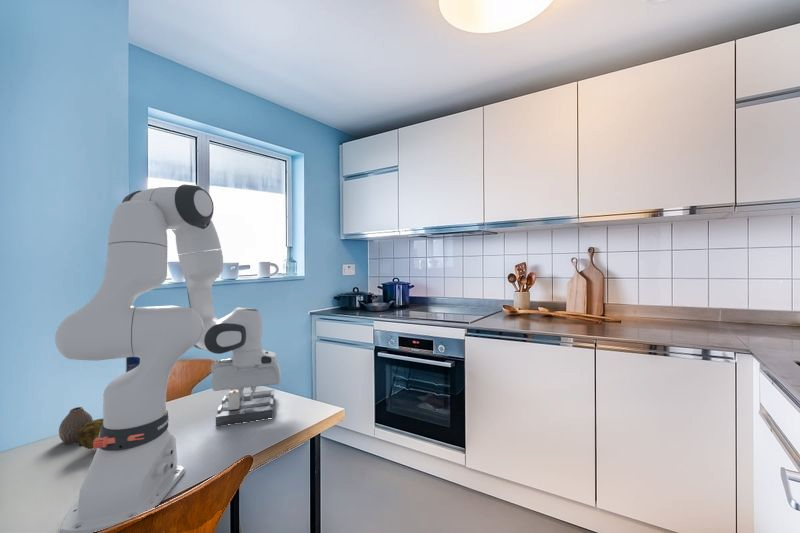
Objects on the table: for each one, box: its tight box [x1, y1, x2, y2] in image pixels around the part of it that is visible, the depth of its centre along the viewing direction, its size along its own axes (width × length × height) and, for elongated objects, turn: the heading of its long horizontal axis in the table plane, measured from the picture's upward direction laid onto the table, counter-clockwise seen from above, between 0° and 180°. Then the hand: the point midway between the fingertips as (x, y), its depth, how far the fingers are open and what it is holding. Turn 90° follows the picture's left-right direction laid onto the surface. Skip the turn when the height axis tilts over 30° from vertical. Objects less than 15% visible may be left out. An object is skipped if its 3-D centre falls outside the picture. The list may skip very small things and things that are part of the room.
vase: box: [58, 406, 94, 445], centre depth 93 cm, size 7×7×9 cm
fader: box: [227, 390, 240, 410], centre depth 107 cm, size 3×3×5 cm
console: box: [215, 389, 275, 427], centre depth 112 cm, size 18×16×4 cm
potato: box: [76, 418, 103, 450], centre depth 90 cm, size 8×13×8 cm, turn 141°
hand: (247, 400), depth 108 cm, fingers closed
